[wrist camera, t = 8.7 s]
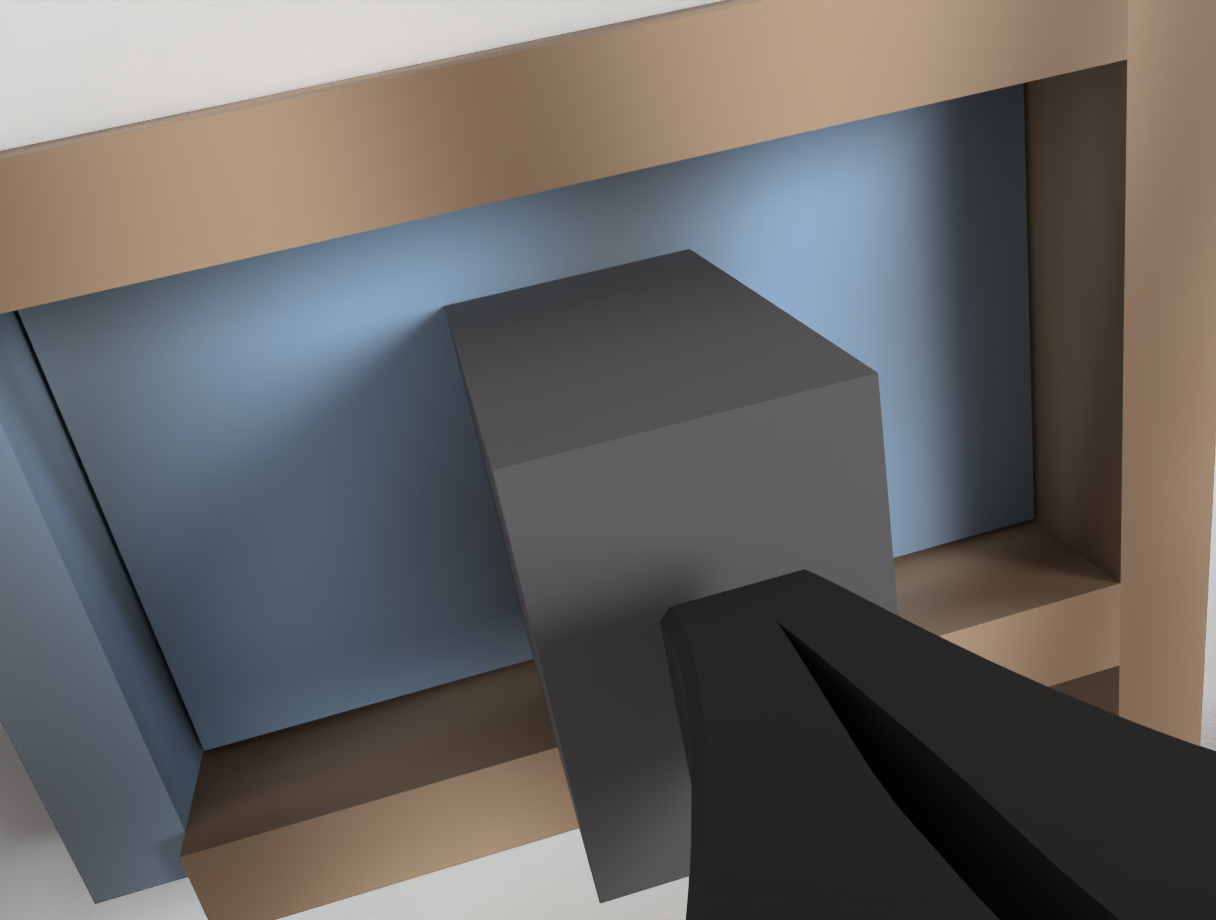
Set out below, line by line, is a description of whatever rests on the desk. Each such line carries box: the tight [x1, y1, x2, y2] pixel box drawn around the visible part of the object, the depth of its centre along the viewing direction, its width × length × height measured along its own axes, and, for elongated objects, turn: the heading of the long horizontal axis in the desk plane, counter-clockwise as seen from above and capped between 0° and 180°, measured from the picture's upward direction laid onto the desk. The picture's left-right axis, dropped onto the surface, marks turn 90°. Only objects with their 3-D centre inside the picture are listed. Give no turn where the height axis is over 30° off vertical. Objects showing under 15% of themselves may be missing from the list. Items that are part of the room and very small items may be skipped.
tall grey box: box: [444, 249, 898, 903], centre depth 13 cm, size 4×5×6 cm
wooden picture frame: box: [0, 0, 1216, 920], centre depth 17 cm, size 17×20×2 cm
